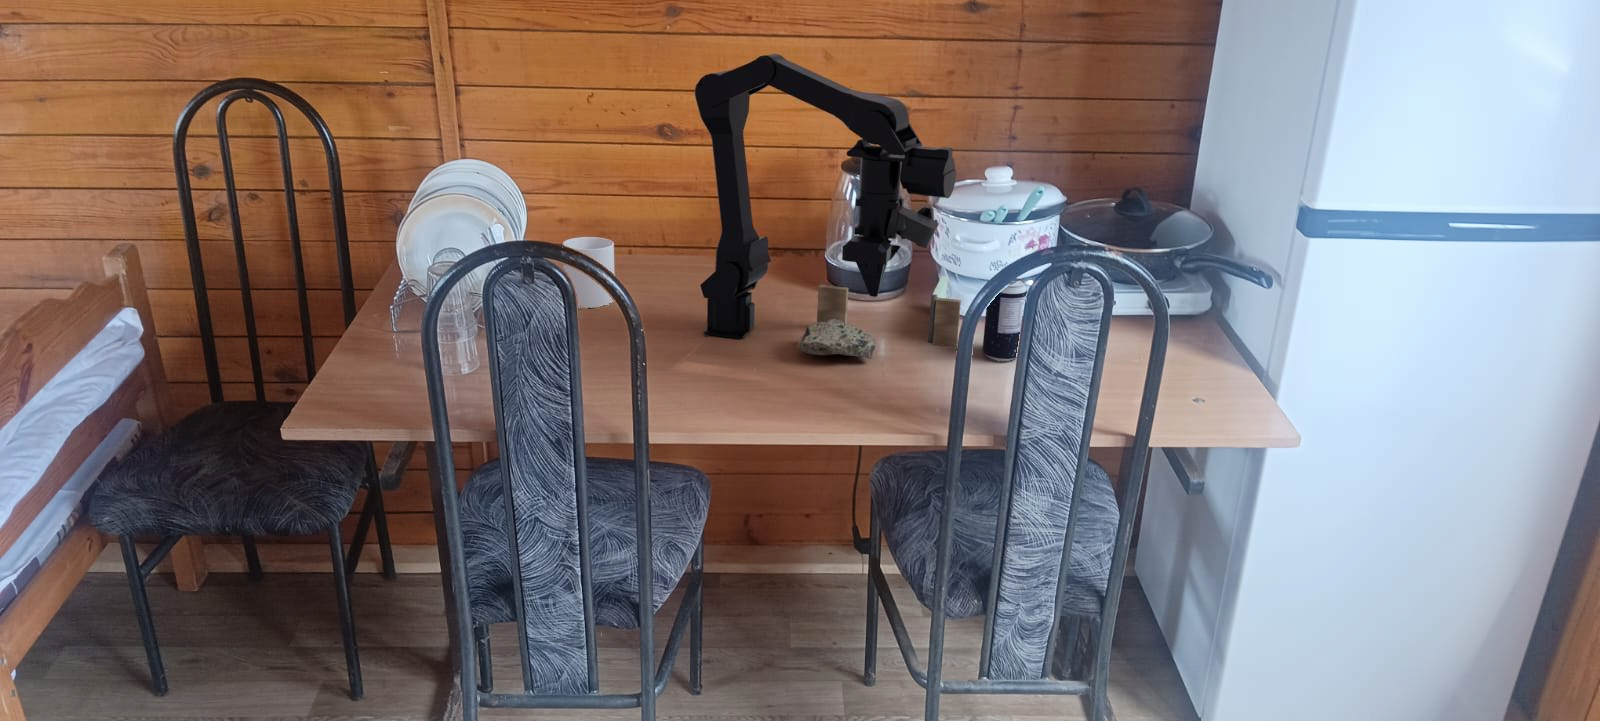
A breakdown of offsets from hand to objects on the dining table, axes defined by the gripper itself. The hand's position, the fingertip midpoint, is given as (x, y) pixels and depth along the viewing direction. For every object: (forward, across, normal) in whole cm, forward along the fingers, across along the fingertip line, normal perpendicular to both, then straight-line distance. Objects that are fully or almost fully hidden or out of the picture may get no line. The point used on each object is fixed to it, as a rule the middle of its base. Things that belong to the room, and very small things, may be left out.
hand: (873, 295), depth 168 cm
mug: (+9, +11, +50) cm, 52 cm away
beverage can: (+10, +7, -19) cm, 22 cm away
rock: (+11, -2, +1) cm, 11 cm away
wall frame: (+10, +9, -8) cm, 15 cm away
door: (+10, +9, -8) cm, 15 cm away
